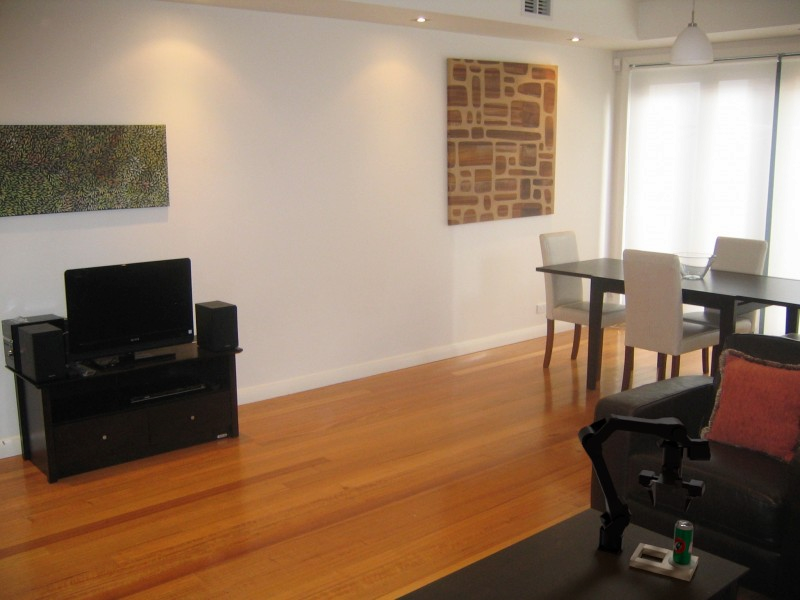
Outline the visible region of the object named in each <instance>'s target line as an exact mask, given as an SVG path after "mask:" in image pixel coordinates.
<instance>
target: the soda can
mask: <svg viewBox="0 0 800 600" xmlns="http://www.w3.org/2000/svg"><path fill="white" fill-rule="evenodd" d="M673 535H674V536H673V549H672V551H673V560H674V562H676V563H677V564H680V565H688V564H689V563H690V562H691V555H693V554H692V553H693V541H694V540H693V539H694V526H693V523H692V522H691V521H690V520H686V519H678V520H677V521H676V523H675V524H674V534H673Z"/></svg>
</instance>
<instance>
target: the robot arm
mask: <svg viewBox="0 0 800 600" xmlns="http://www.w3.org/2000/svg"><path fill="white" fill-rule="evenodd" d="M616 431H622V432H630V433H636V434H637V433H638V434H646V435H653V436H657V437H659V438H660V439H659V440H657V441H656V444H657V446H658V447H659V448H663V450H662V463H661V470H660V471H659V475H658V476H657V475H656V472H655V471H651V470H646V469H643V470H641V471H640V473H639V474H638V476H637V484H638V485H641V487H642V488H645V489H646V491H647V492H648V493H647V494H648V495H649V498H650V499H649V500H650V502H651V506H652V507H655V505H656V496H657V495H656V490H658V492H665V493H668V494H674V493H675V492H676V491H678V490H679V491H682V489H684V490H687V493H686V495H685V496H686V498H685V503H684V508H683V513H684V514H686V513H687V510H688V509H689V506H690V504H691V502H692V501H693V499H697V498H699V497H702V496H703V495H704V492H705V490H706V483H705V482H704V481H703V480H697V479H693V478H691V480H690V481H688V482H686V481H684V478H683V477H682V476H683V462H684V458H685V459H687V461H688V462H694V463H695V462H699V463H700V462H701V463H702V462H703V463H704V462H706V463H709V462H710V461H711V458H712V453H711V448H710V441H709V440H708V438H690V436H689V435H688V429H687V427H686V426H685V425H684V424H683V423H682V421H680V419H678V418H676V417H661V418H655V419H651V418H644V417H635V416H626V415H618V414H615V413H608V414H607V415H605V416H604V417H602V418H600V419H598V420H595V421H593V422H592V423H590V424H589V425H587V426H583V427H581V428H580V429H579V431H578V432H577V437H578V440H579V442H580V445H581V446H582V449H584V451H585V453H586V454H587V457H589V459H590V461H591V464H592V466H593V469H594V471H595V474H596V477H597V479H598V482H599V484H600V487H601V491H602V493H603V495H604V500H605V508H606V509H605V511H604V512H603V513H601V514H600V515H599V517H598V518H599V520H600V523H601V526H600V527H599V534H598V536H599V537H598V545H597V547H596V549H597V550H599V551H604V552H608V553H611V554H616V555H619V553H620V552H621V551H622V550H623V548H624V547H625V546H624V545H625V534H624V531H625V530H626V528H627V527H628V526H630V524H631V519H632V518H631V517H632V516H633V514H632V513H631V511H630V508H629V505H628V502H627V501H626V499H625V497H624V495H622V496H618V493H617V490H616V488H615V485H614V482H613V480H612V477H611V474H610V472H609V469H608V466H607V464H606V461H605V459H604V451H603V450H604V449H603V445H602V444H604V443H605V442H606V441H608V439H609V438H610V437H611V436H612V435H613V434H614V433H615V432H616ZM656 484H657V486H656ZM656 487H657V489H656Z"/></svg>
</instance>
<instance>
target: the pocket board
mask: <svg viewBox="0 0 800 600" xmlns="http://www.w3.org/2000/svg"><path fill="white" fill-rule="evenodd" d="M643 554H644V555H647V556H651V557H656V558H660V559H662V562H658V561H654V560H649V559H645V558H641V557H642V556H643ZM698 564H699V556H698V555H697V556H696V555H693V554H691V562H690V563H689V564H688V565H680V564H677V563H676V562H674V560H673V549H672V550H670V549H668V548H664V547H660V546H655V545H651V544H646V543H643V542H639V544H638V546H637V547H636V548H635V551H634V552H633V554H632V555H631V557H630V559H629V567H633V568H636V569H640V570H644V571H648V572H652V573H656V574H661V575H664V576H667V577H672V578H675V579H677V580H678V579H679V580H683V581H687V582H690V581H691V580H692V577H693V575H694V573H695V570H696V568H697V566H698Z"/></svg>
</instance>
